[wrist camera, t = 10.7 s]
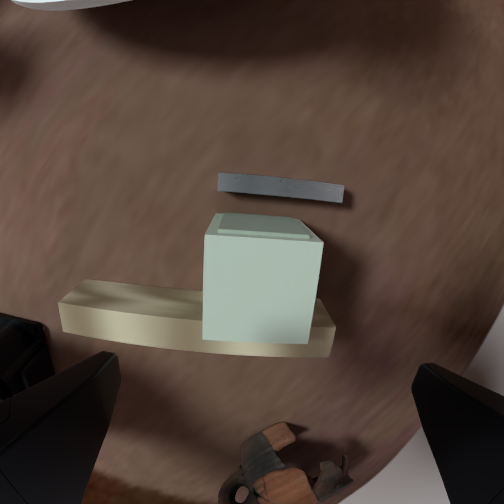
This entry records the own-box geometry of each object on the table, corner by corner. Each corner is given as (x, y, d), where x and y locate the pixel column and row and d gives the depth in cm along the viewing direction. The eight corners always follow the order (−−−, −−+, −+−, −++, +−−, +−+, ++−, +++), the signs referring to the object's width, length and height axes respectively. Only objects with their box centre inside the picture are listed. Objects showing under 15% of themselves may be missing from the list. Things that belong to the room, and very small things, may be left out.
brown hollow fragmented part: (311, 397, 23) (366, 474, 17) (318, 423, 30) (358, 480, 24) (185, 461, 21) (225, 543, 15) (222, 473, 28) (255, 533, 22)
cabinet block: (212, 290, 20) (202, 339, 14) (215, 210, 19) (205, 231, 13) (289, 295, 20) (307, 344, 14) (298, 216, 19) (323, 239, 13)
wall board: (88, 304, 20) (63, 331, 16) (85, 278, 19) (57, 302, 16) (314, 325, 21) (329, 357, 17) (319, 298, 20) (336, 327, 16)
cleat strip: (219, 188, 18) (217, 190, 17) (220, 172, 18) (218, 172, 16) (334, 200, 19) (342, 202, 17) (336, 183, 18) (344, 185, 17)
